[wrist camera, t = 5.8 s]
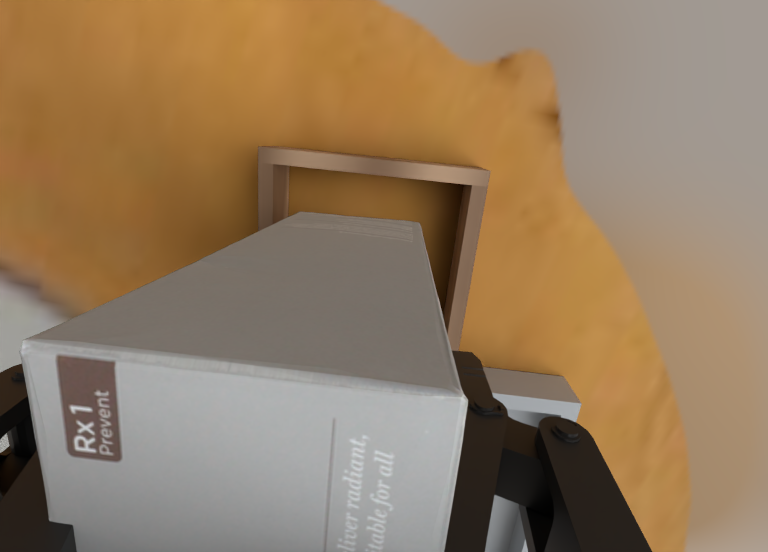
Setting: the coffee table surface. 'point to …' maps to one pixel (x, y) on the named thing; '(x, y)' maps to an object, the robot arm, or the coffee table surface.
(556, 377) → the tray
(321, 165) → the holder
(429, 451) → the skincare box
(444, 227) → the coffee table surface
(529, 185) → the coffee table surface
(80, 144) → the coffee table surface
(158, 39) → the coffee table surface
